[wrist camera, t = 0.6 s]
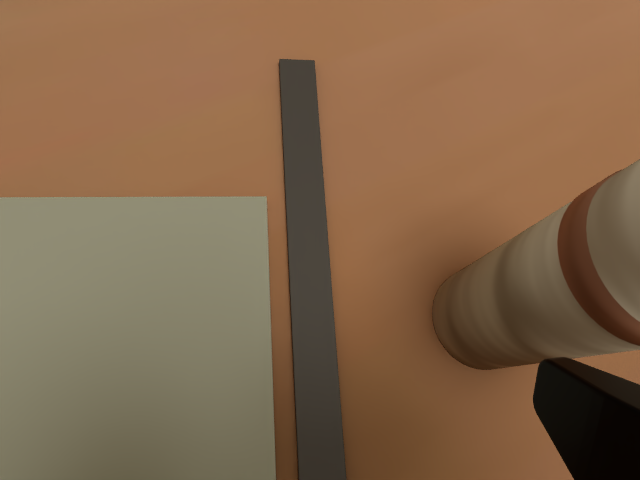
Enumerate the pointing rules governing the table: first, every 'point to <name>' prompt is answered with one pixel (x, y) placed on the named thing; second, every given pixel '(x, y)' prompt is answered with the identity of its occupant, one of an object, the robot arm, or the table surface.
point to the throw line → (310, 280)
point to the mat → (135, 339)
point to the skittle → (552, 285)
